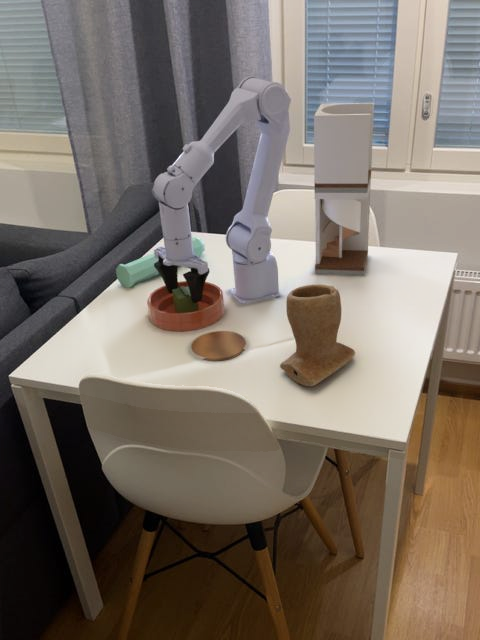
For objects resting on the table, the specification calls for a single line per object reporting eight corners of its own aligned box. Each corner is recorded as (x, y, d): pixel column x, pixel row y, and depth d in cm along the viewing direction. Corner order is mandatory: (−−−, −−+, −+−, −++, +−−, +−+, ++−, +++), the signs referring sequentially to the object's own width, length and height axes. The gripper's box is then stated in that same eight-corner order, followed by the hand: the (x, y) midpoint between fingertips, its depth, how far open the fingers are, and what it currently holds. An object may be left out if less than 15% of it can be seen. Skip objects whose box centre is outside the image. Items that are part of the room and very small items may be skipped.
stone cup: (313, 340, 139) (313, 270, 130) (363, 359, 132) (366, 286, 123) (263, 373, 130) (259, 300, 121) (313, 394, 123) (313, 319, 114)
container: (195, 228, 176) (116, 259, 162) (211, 242, 174) (132, 274, 160) (191, 247, 181) (114, 279, 167) (206, 260, 179) (130, 293, 165)
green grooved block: (193, 306, 153) (190, 283, 150) (199, 315, 149) (197, 292, 146) (174, 310, 152) (171, 287, 149) (180, 320, 148) (177, 297, 145)
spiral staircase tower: (315, 274, 164) (314, 115, 143) (321, 256, 172) (321, 103, 151) (363, 275, 161) (370, 114, 141) (367, 257, 170) (374, 102, 149)
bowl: (211, 293, 159) (209, 275, 157) (234, 323, 147) (233, 304, 144) (142, 308, 156) (139, 289, 153) (160, 340, 143) (157, 320, 140)
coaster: (235, 329, 145) (235, 326, 144) (254, 353, 136) (253, 350, 136) (185, 340, 142) (184, 338, 142) (200, 366, 134) (200, 363, 133)
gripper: (139, 233, 142) (148, 294, 151) (186, 249, 134) (194, 312, 142) (165, 223, 146) (173, 283, 154) (212, 238, 138) (218, 300, 146)
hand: (185, 296), depth 148 cm, fingers open, 7 cm apart
